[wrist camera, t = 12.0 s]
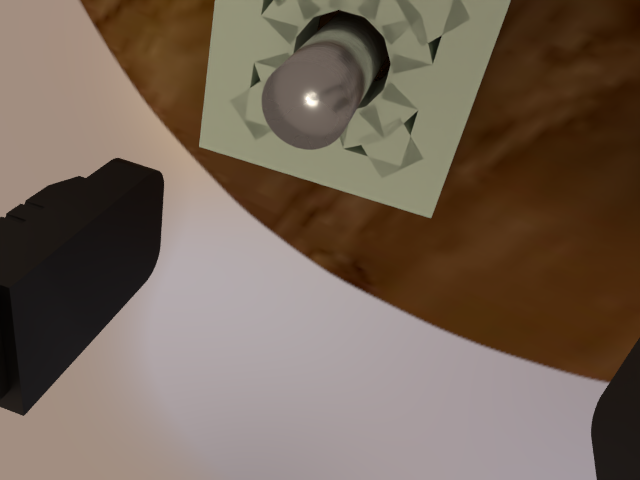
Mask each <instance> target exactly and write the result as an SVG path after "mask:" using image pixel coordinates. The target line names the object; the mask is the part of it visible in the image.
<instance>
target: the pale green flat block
mask: <svg viewBox="0 0 640 480" xmlns="http://www.w3.org/2000/svg"><path fill="white" fill-rule="evenodd" d="M510 1H511V0H215V6H214V15H213V24H212V33H211V43H210V52H209V61H208V70H207V79H206V88H205V97H204V107H203V116H202V125H201V134H200V143H199V147H202V148H205V149H208V150H212V151H215V152H218V153H221V154H224V155H228V156H231V157H234V158H237V159H241V160H244V161H247V162H250V163H254V164H257V165H260V166H263V167H267V168H270V169H273V170H276V171H279V172H283V173H286V174H289V175H292V176H296V177H299V178H302V179H305V180H309V181H312V182H315V183H318V184H321V185H325V186H328V187H331V188H334V189H338V190H341V191H344V192H347V193H351V194H354V195H357V196H360V197H363V198H367V199H370V200H373V201H376V202H380V203H383V204H386V205H389V206H393V207H396V208H399V209H402V210H406V211H409V212H412V213H415V214H418V215H422V216H425V217H428V218H431V217H432V214H433V212H434V209H435V206H436V203H437V201H438V198H439V195H440V193H441V190H442V187H443V184H444V182H445V179H446V176H447V173H448V171H449V168H450V165H451V163H452V160H453V157H454V154H455V152H456V149H457V146H458V143H459V141H460V138H461V135H462V132H463V130H464V127H465V124H466V122H467V119H468V116H469V113H470V111H471V108H472V105H473V102H474V100H475V97H476V94H477V91H478V89H479V86H480V83H481V81H482V78H483V75H484V72H485V70H486V67H487V64H488V61H489V59H490V56H491V53H492V51H493V48H494V45H495V42H496V40H497V37H498V34H499V31H500V29H501V26H502V23H503V20H504V18H505V15H506V12H507V10H508V7H509V4H510ZM336 10H341V11H345V12H348V13H352V14H355V15H359V16H362V17H365V18H366V19H367V20H368V21H369V22H370V23H371V24H372V25H373V26H374V27H375V28H376V29H377V30H378V31H379V32H380V34H381V35H382V36H383V37H384V39H385V43H386V47H387V51H388V55H389V59H390V63H391V65H390V69H389V72H388V73H387V74H386V75H385V76H384V77H383V78H382V79H381V80H378V81H374V82H372V84H371V86H370V87H369V89H368V91H367V92H366V94H365V96H364V98H363V99H362V101H361V103H360V105H359V106H358V108H357V110H356V111H355V113H354V115H353V117H352V118H351V120H350V122H349V124H348V125H347V127H346V129H345V130H344V132H343V133H342V135H341V136H340V137H339V138H338V139H337V140H336V141H335V142H333V143H332V144H330V145H328V146H326V147H323V148H320V149H314V150H306V149H300V148H296V147H293V146H291V145H289V144H287V143H285V142H284V141H282V140H281V139H280V138H279V137H277V136H276V135H275V133H274V132H273V131H272V130H271V128H270V127H269V125H268V124H267V122H266V120H265V117H264V114H263V110H262V92H263V88H264V86H265V83H266V81H267V79H268V78H269V76H270V75H271V74H272V73H273V72H274V71H275V70H276V69H277V68H278V67H279V66H280V65H282V64H283V63H284V62H285V61H286V60H287V59H288V58H289V57H290V56H291V55H293V54H294V53H295V52H296V51H297V50H298V49H299V48H300V47H301V46H302V45H304V44H305V43H306V42H307V41H308V40H309V39H310V38H311V37H312V36H313V35H315V34H316V33H317V30H318V25H319V20H320V17H321V16H322V15H323V14H326V13H330V12H333V11H336ZM440 36H442V37H441V40H440Z"/></svg>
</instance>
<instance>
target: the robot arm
mask: <svg viewBox="0 0 640 480" xmlns="http://www.w3.org/2000/svg"><path fill="white" fill-rule="evenodd" d="M163 193H164V180H163V175H162V173H161V172H160V171H157V170H155V169H152V168H148V167H145V166H142V165H139V164H136V163H133V162H130V161H127V160H123V159H120V158H115V159H113V160H111V161H110V162H108V163H107V164H105V165H104V166H103V167H101V168H100V169H98V170H97V171H95V172H94V173H93V174H91V175H90V176H88V177H87V178H84V177H81V176H78V177H74V178H71V179H68V180H65V181H61V182H58V183H55V184H52V185H49V186H47V187H46V188H44V189H43V190H41V191H40V192H38V193H36V194H35V195H33V196H32V197H30V198H29V199H27V200H26V202H25V204H24V205H23V204H20V205H19V206H17V207H15V208H14V209H12V210H11V211H9V212H8V213H7V214H6V217H5V218H4V217H0V407H2V408H5V409H7V410H10V411H12V412H15V413H18V414H20V415H23V416H24V415H25V414H26V413H27V412H28V411H29V410H30V409H31V408H32V406H33V405H34V404H35V403H36V402H37V401H38V400H39V399H40V398H41V397H42V395H43V394H44V393H45V392H46V391H47V390H48V389H49V388H50V387H51V386H52V384H53V383H54V382H55V381H56V380H57V379H58V378H59V377H60V375H61V374H62V373H63V372H64V371H65V370H66V369H67V368H68V367H69V366H70V365H71V364H72V362H73V361H74V360H75V359H76V358H77V357H78V356H79V355H80V354H81V353H82V351H83V350H84V349H85V348H86V347H87V346H88V345H89V344H90V343H91V342H92V340H93V339H94V338H95V337H96V336H97V335H98V334H99V333H100V332H101V331H102V329H103V328H104V327H105V326H106V325H107V324H108V323H109V322H110V321H111V320H112V319H113V317H114V316H115V315H116V314H117V313H118V312H119V311H120V310H121V308H123V306H124V305H125V304H126V303H127V302H128V301H129V300H130V299H131V298H132V297H133V295H134V294H135V293H136V292H137V291H138V290H139V289H140V288H141V287H142V286H143V284H144V283H145V282H146V281H147V280H148V278H149V277H150V275H151V274H152V272H153V270H154V268H155V265H156V263H157V260H158V256H159V252H160V243H161V227H162V210H163ZM591 437H592V446H593V453H594V460H595V469H596V476H597V480H640V338H639V339H638V341H637V342H636V344H635V345H634V347H633V348H632V350H631V351H630V353H629V354H628V356H627V357H626V359H625V360H624V362H623V364H622V365H621V367H620V368H619V370H618V371H617V373H616V374H615V376H614V377H613V379H612V380H611V382H610V383H609V385H608V386H607V388H606V389H605V391H604V392H603V394H602V395H601V397H600V399H599V401H598V403H597V406H596V408H595V412H594V415H593V419H592V427H591Z"/></svg>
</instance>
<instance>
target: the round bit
mask: <svg viewBox="0 0 640 480" xmlns="http://www.w3.org/2000/svg"><path fill="white" fill-rule="evenodd" d="M387 56H388V51H387V47H386V43H385V39H384V37H383V36H382V35H381V34H380V32H379V31H378V30H377V29H376V28H375V27H374V26H373V25H372V24H371V23H370V22H369V21H368V20H367V19H366V18H365V17H362V16H359V15H355V14H352V13H348V12H345V11H340V12H339V13H338V14H337V15H335V16H334V17H333V18H332V19H331V20H330V21H329V22H328V23H327V24H326V25H324V26H323V27H322V28H321V29H320V30H319V31H318V32H317V33H316V34H315V35H313V36H312V37H311V38H310V39H309V40H308V41H307V42H306V43H305V44H304V45H302V46H301V47H300V48H299V49H298V50H297V51H296V52H295V53H294V54H293V55H291V56H290V57H289V58H288V59H287V60H286V61H285V62H284V63H283V64H282V65H280V66H279V67H278V68H277V69H276V70H275V71H274V72H273V73H272V74H271V75H270V76H269V78H268V79H267V81H266V83H265V86H264V88H263V92H262V110H263V114H264V117H265V120H266V122H267V124H268V125H269V127H270V128H271V130H272V131H273V132H274V133H275V135H276V136H277V137H279V138H280V139H281V140H282V141H284V142H285V143H287V144H289V145H291V146H293V147H296V148H300V149H306V150H314V149H320V148H323V147H326V146H328V145H330V144H332V143H333V142H335V141H336V140H337V139H338V138H339V137H340V136H341V135H342V133H343V132H344V130H345V129H346V127H347V125H348V124H349V122H350V120H351V118H352V117H353V115H354V113H355V111H356V110H357V108H358V106H359V105H360V103H361V101H362V99H363V98H364V96H365V94H366V92H367V91H368V89H369V87H370V86H371V84H372V82H373V80H374V79H375V77H376V75H377V73H378V72H379V70H380V68H381V67H382V65H383V63H384V61H385V60H386V58H387Z"/></svg>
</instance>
